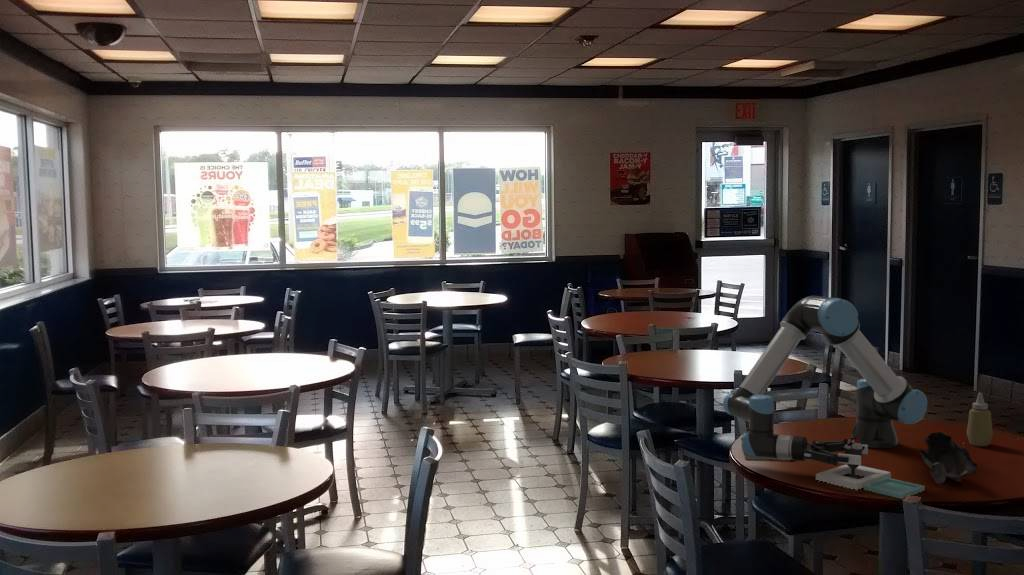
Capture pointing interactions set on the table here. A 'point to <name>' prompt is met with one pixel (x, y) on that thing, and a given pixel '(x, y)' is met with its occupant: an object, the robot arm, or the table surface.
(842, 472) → the board
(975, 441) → the squeeze bottle
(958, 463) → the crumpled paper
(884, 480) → the tray
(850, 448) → the sundae
